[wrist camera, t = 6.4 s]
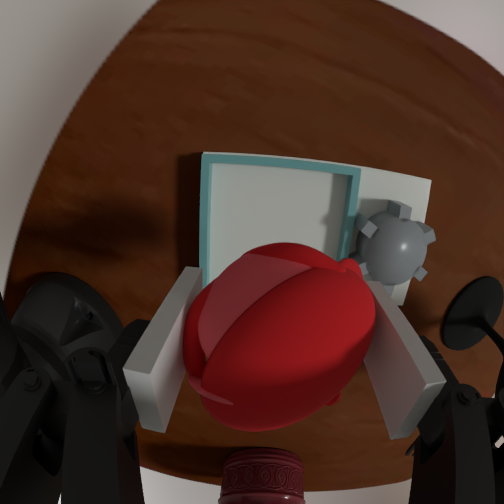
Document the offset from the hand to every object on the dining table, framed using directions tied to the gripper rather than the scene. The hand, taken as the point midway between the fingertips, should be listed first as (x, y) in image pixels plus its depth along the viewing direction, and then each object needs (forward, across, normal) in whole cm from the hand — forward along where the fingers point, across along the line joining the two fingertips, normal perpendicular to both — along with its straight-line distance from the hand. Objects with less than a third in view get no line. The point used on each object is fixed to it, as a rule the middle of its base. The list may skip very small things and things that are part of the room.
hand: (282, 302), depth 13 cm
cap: (0, 0, 0) cm, 0 cm away
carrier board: (+12, +3, 0) cm, 13 cm away
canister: (+12, +2, -39) cm, 41 cm away
